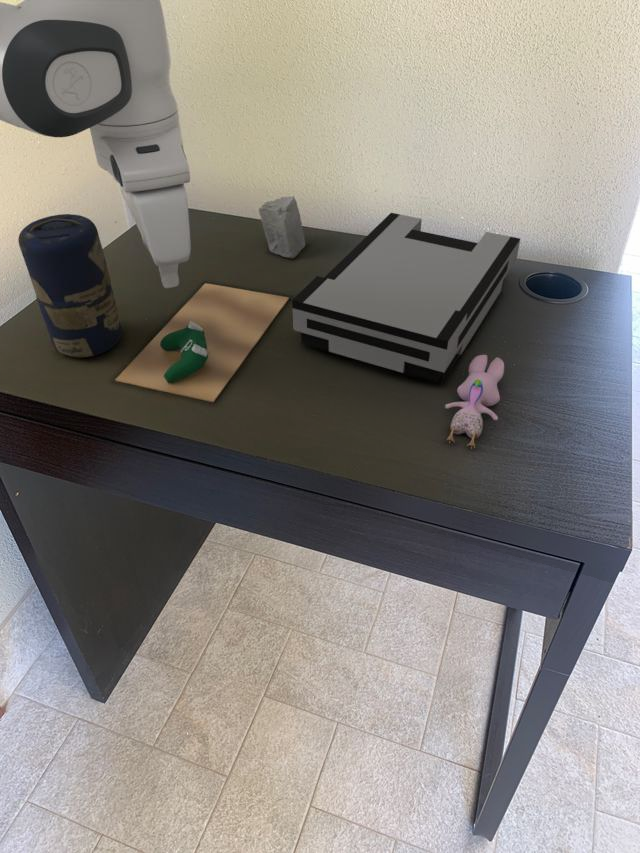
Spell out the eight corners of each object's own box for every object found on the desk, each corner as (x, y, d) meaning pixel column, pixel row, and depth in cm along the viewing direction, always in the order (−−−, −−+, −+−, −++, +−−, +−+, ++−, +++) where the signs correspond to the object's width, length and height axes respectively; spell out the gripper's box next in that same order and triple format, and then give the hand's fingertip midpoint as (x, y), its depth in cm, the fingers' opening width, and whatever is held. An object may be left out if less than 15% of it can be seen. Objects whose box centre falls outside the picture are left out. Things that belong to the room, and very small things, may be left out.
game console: (512, 280, 106) (521, 230, 100) (440, 396, 85) (448, 341, 79) (388, 252, 113) (391, 205, 108) (294, 353, 92) (292, 299, 87)
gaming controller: (185, 395, 88) (215, 363, 86) (161, 381, 86) (191, 348, 84) (180, 354, 95) (207, 325, 93) (157, 341, 92) (184, 310, 90)
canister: (115, 363, 91) (82, 236, 79) (44, 363, 91) (0, 237, 79) (131, 323, 98) (103, 202, 86) (65, 324, 98) (28, 203, 86)
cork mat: (213, 402, 84) (213, 401, 84) (115, 381, 88) (114, 379, 88) (289, 298, 103) (289, 297, 102) (205, 284, 106) (205, 283, 106)
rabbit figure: (486, 461, 78) (514, 371, 86) (492, 427, 73) (521, 336, 82) (433, 446, 80) (466, 360, 88) (435, 413, 75) (470, 326, 84)
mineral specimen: (310, 232, 118) (308, 192, 111) (298, 265, 113) (295, 225, 106) (269, 227, 119) (264, 187, 112) (255, 260, 114) (250, 219, 107)
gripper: (91, 116, 76) (117, 233, 85) (124, 182, 61) (152, 314, 71) (148, 109, 77) (167, 224, 87) (193, 171, 63) (211, 301, 72)
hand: (161, 265), depth 78 cm, fingers open, 8 cm apart
